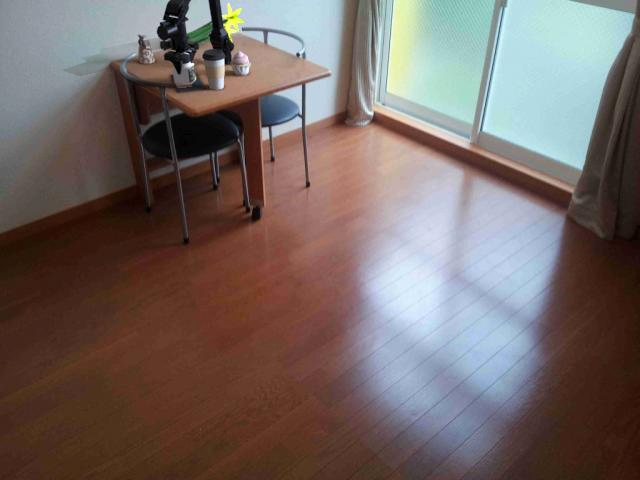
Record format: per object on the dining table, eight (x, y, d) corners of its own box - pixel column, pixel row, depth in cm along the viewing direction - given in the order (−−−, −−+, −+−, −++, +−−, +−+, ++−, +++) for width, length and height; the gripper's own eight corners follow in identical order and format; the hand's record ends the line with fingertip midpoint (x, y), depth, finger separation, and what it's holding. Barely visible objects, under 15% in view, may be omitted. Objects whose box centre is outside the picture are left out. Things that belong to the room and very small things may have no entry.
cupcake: (248, 68, 261) (247, 46, 255) (253, 76, 254) (252, 53, 248) (228, 71, 258) (226, 48, 252) (233, 78, 251) (231, 55, 245)
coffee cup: (228, 83, 246) (226, 48, 237) (226, 91, 239) (223, 56, 230) (206, 83, 246) (203, 48, 237) (203, 91, 238) (200, 55, 229)
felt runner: (196, 73, 255) (196, 72, 255) (204, 89, 240) (204, 88, 240) (171, 75, 252) (171, 74, 252) (178, 92, 237) (178, 91, 237)
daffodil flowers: (175, 44, 289) (236, 17, 297) (189, 66, 286) (250, 38, 294) (170, 22, 273) (234, -6, 281) (184, 45, 270) (249, 16, 278)
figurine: (146, 64, 262) (142, 38, 255) (135, 61, 265) (131, 35, 258) (158, 60, 267) (154, 34, 260) (147, 57, 270) (143, 31, 263)
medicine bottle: (190, 85, 242) (186, 57, 235) (174, 83, 243) (170, 55, 236) (196, 79, 248) (193, 51, 240) (180, 77, 249) (177, 50, 242)
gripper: (174, 25, 243) (179, 61, 252) (149, 37, 228) (155, 75, 238) (197, 28, 240) (201, 65, 249) (174, 41, 226) (178, 79, 235)
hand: (184, 71), depth 243 cm, fingers closed on medicine bottle, 7 cm apart
